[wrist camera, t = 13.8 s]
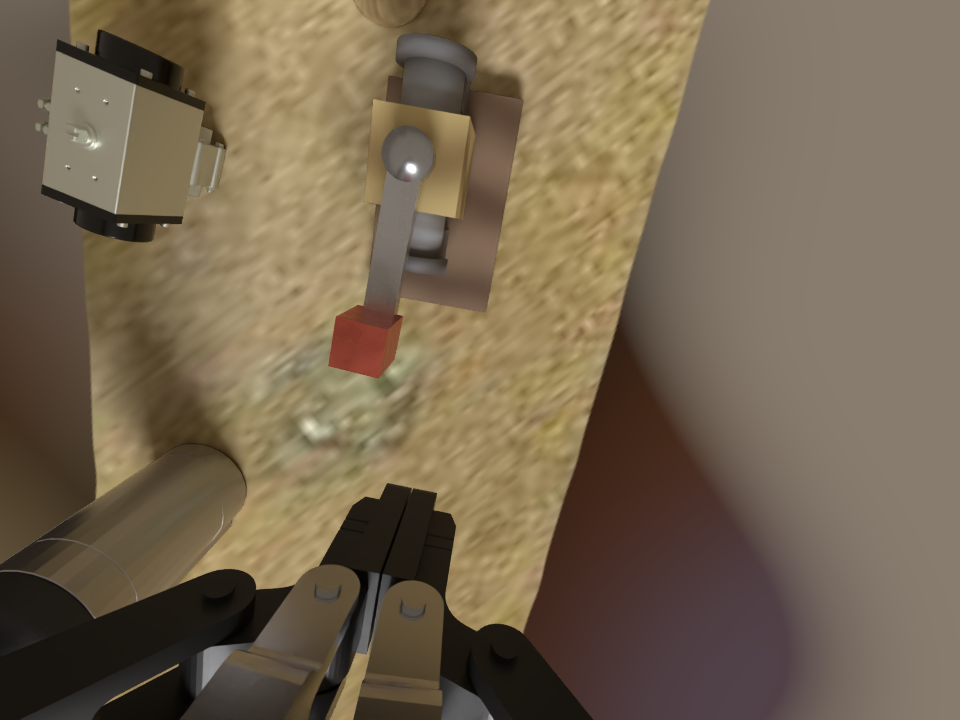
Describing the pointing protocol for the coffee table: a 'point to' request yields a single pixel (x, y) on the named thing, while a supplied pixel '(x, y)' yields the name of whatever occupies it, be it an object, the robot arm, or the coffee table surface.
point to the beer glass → (390, 11)
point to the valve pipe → (448, 169)
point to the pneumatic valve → (124, 139)
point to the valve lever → (386, 259)
